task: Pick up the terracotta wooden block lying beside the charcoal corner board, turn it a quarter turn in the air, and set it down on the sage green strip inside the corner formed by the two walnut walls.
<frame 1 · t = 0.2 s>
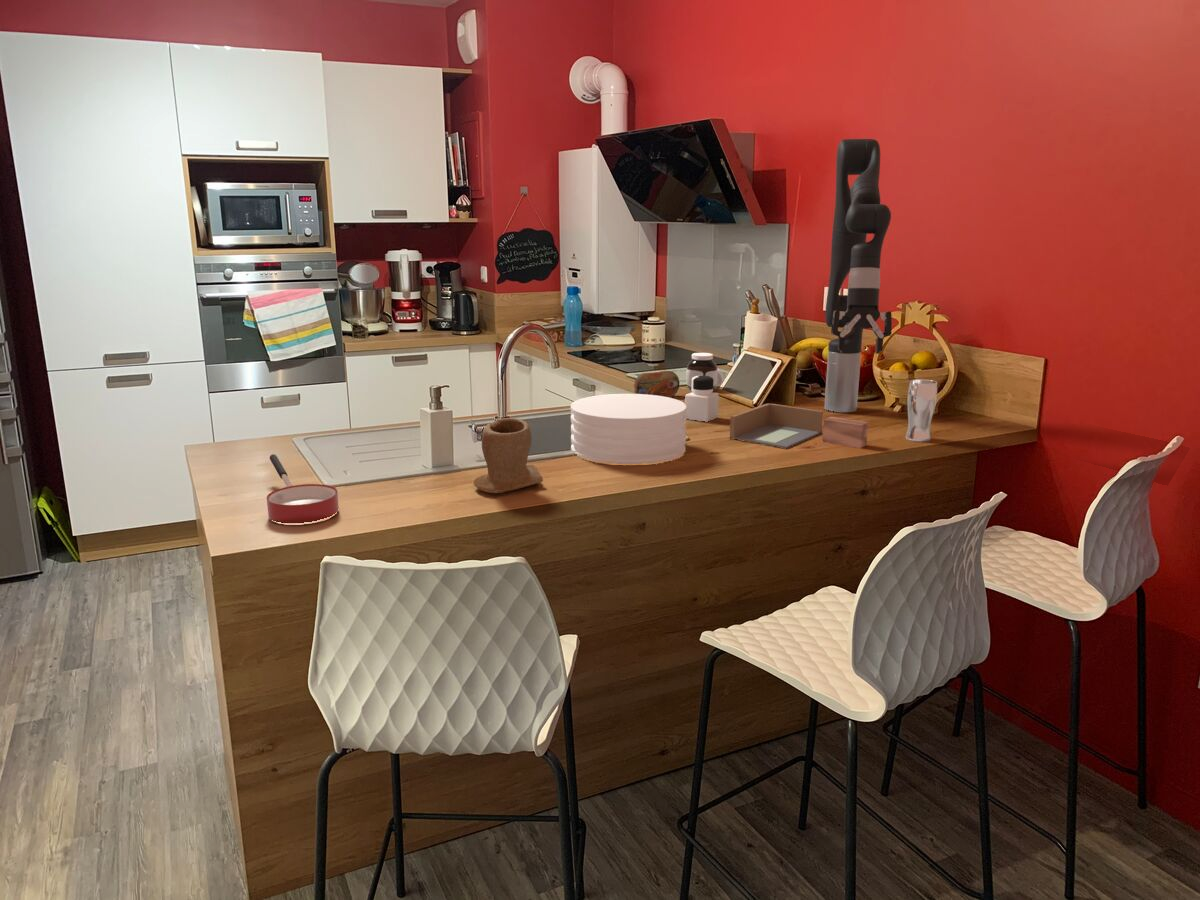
hand: (859, 353, 224), 22 cm above the countertop, tool pointing down, fingers open, 8 cm apart
block: (844, 443, 227), on the countertop
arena: (776, 436, 234), on the countertop
stone cup: (511, 489, 191), on the countertop
plate stack: (628, 451, 221), on the countertop
beer glass: (917, 439, 231), on the countertop
spread jar: (704, 389, 294), on the countertop
medicine bottle: (701, 419, 253), on the countertop
tin: (656, 398, 280), on the countertop
frying pan: (288, 504, 182), on the countertop
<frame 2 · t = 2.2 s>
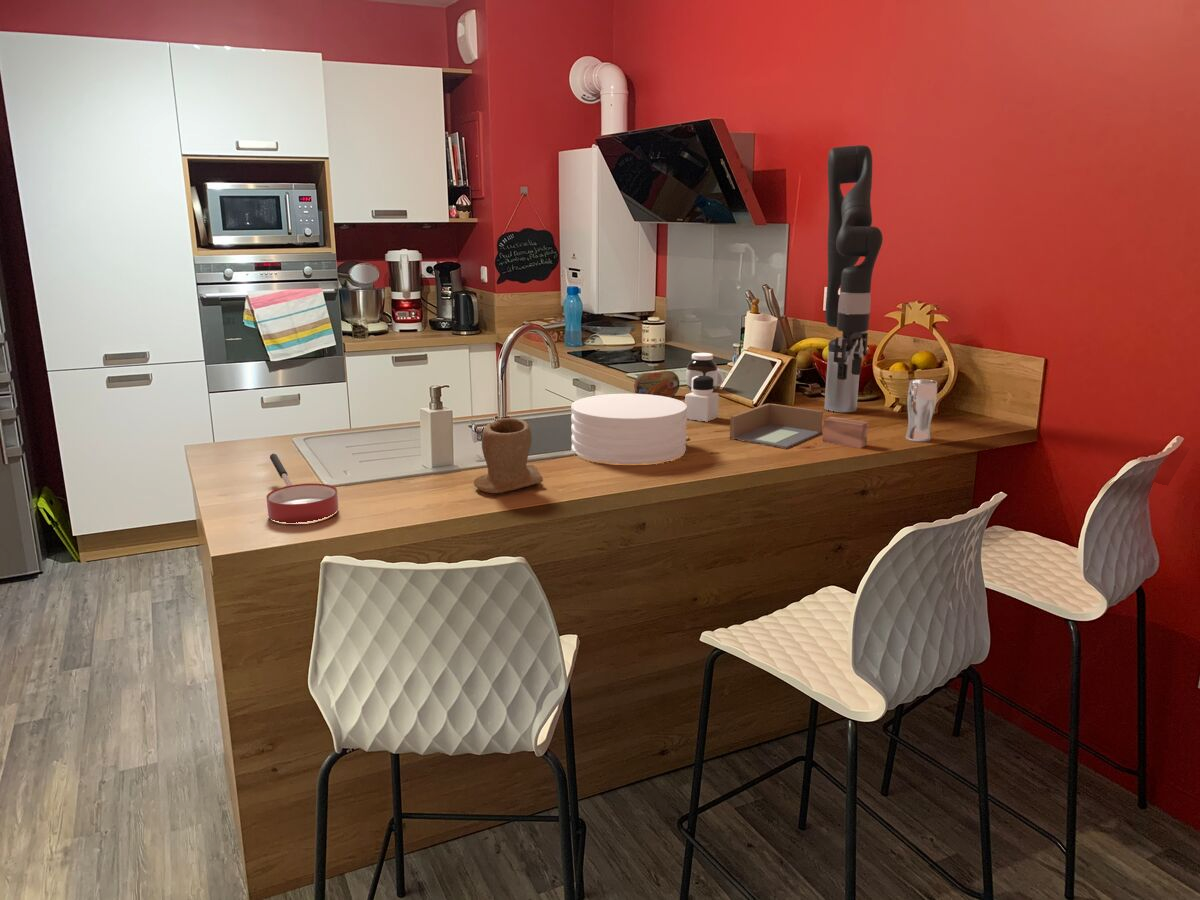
hand: (848, 376, 222), 17 cm above the countertop, tool pointing down, fingers open, 8 cm apart
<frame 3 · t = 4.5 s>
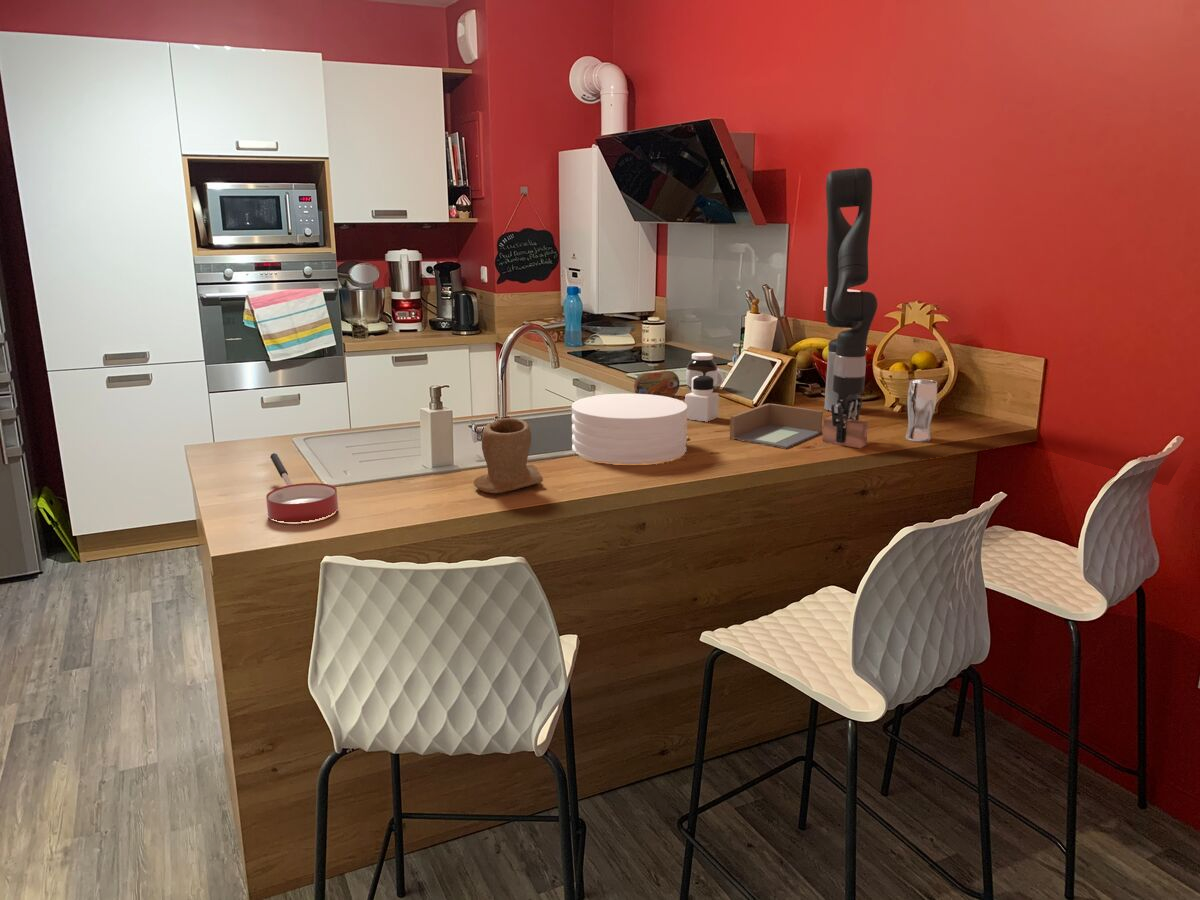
hand: (844, 440, 226), 1 cm above the countertop, tool pointing down, fingers closed on block, 4 cm apart
block: (844, 443, 227), on the countertop, touching gripper
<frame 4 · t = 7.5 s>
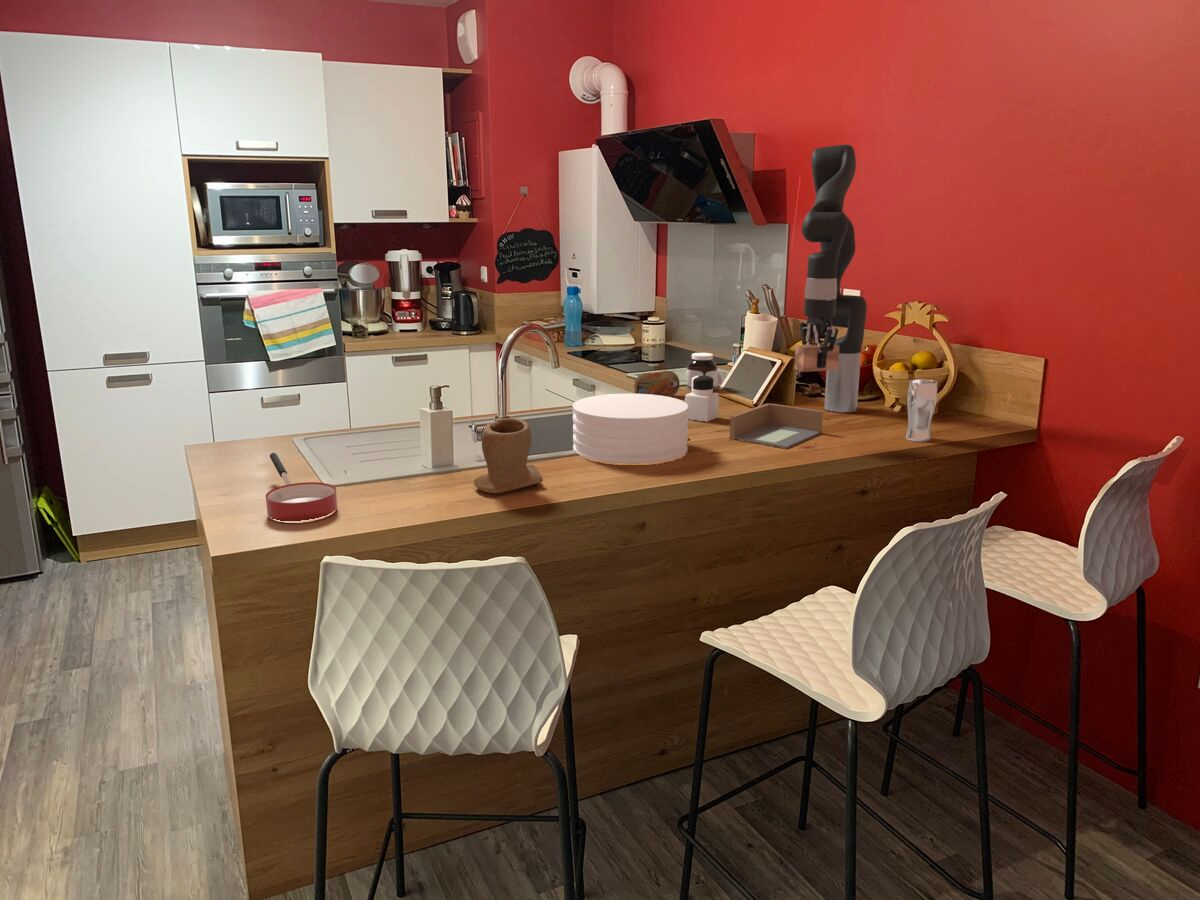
hand: (816, 365, 224), 19 cm above the countertop, tool pointing down, fingers closed on block, 4 cm apart
block: (816, 369, 224), point 18 cm above the countertop, touching gripper
when the fingers open (2 cm above the countertop, at t = 10.7 s): block stays where it is, resting on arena.
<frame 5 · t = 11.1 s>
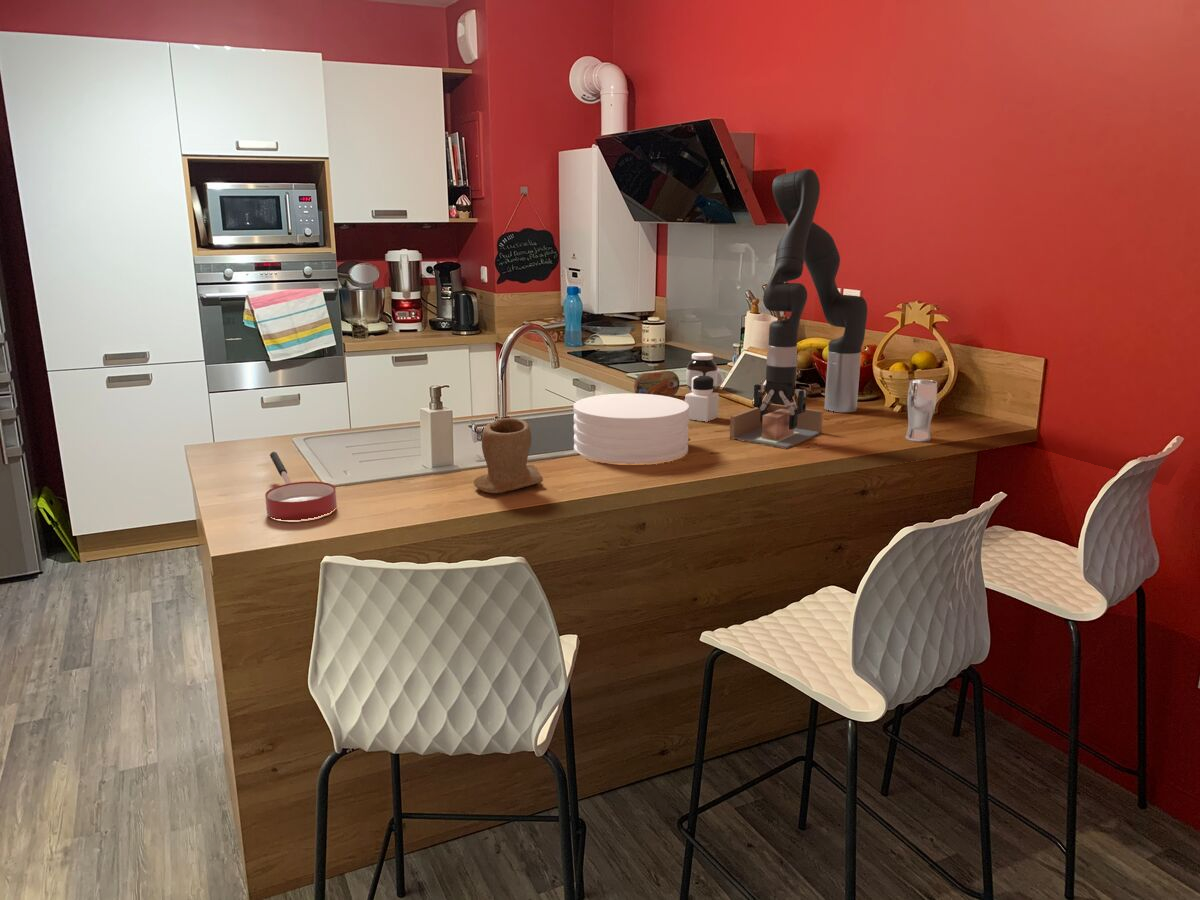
hand: (778, 426, 231), 3 cm above the countertop, tool pointing down, fingers open, 7 cm apart
block: (777, 435, 231), point 1 cm above the countertop, touching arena
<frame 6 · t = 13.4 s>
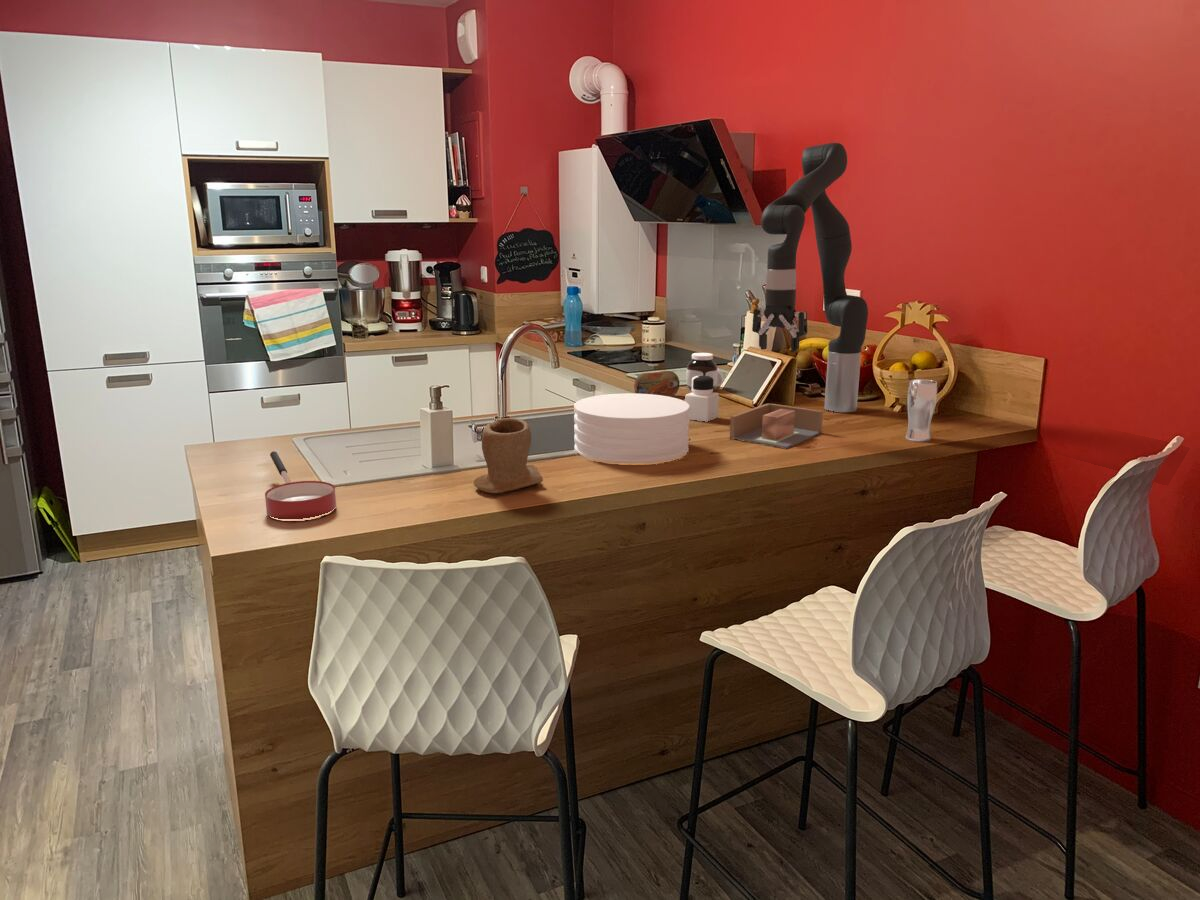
hand: (778, 350, 231), 22 cm above the countertop, tool pointing down, fingers open, 8 cm apart
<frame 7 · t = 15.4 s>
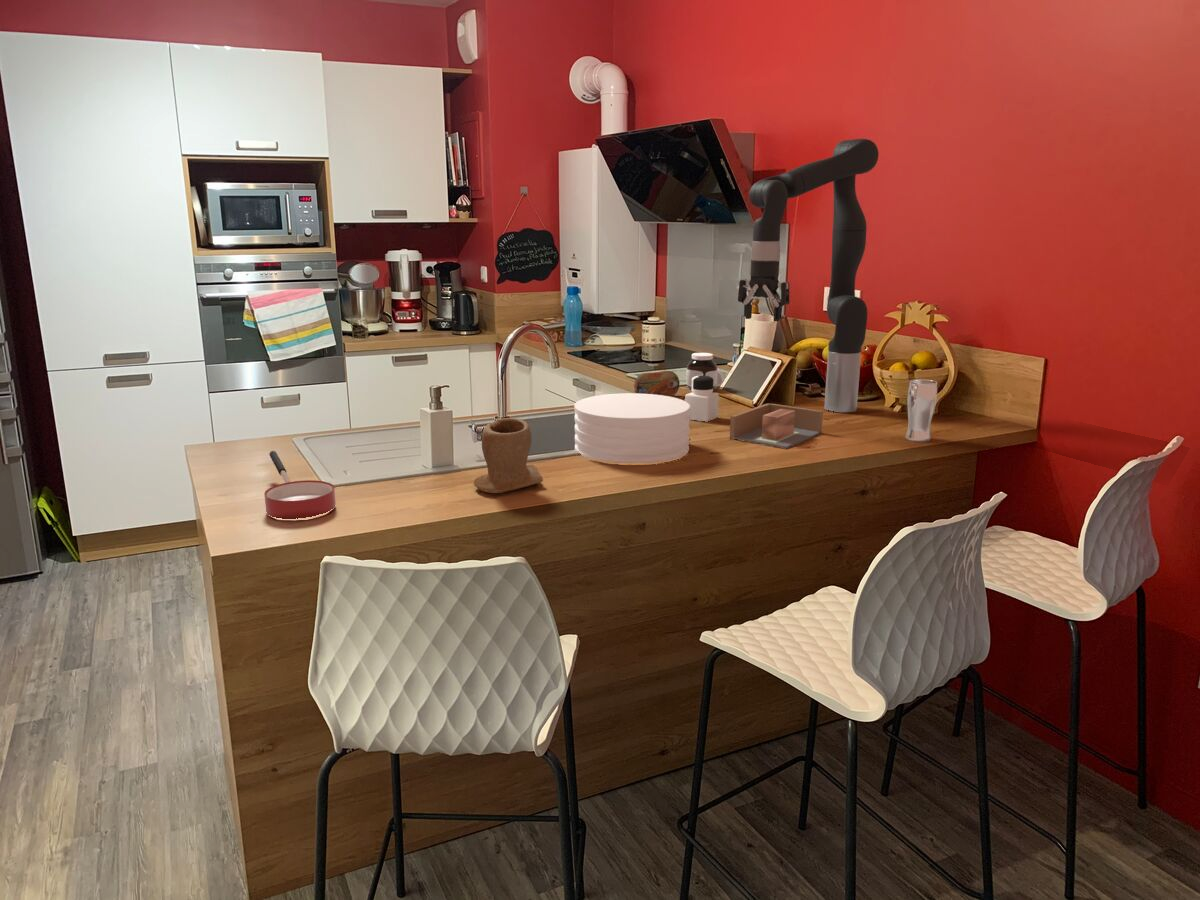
hand: (762, 319, 243), 28 cm above the countertop, tool pointing down, fingers open, 8 cm apart
at the end: block 0.1 cm from the target spot on the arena, point 0.7 cm above the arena's base; block tilted 0°; the gripper is holding nothing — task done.
